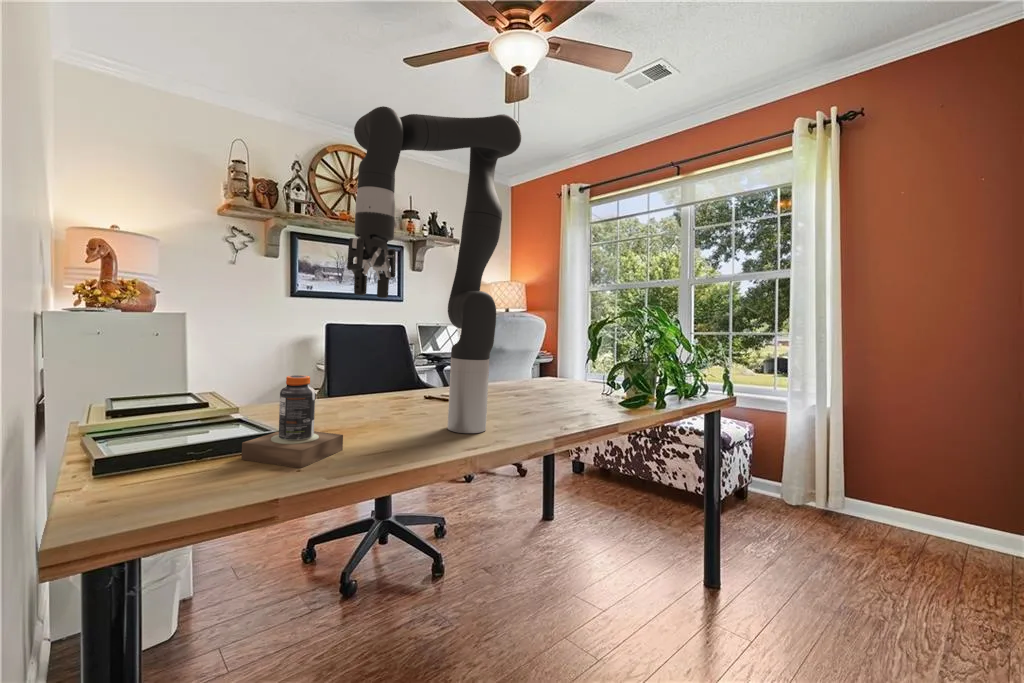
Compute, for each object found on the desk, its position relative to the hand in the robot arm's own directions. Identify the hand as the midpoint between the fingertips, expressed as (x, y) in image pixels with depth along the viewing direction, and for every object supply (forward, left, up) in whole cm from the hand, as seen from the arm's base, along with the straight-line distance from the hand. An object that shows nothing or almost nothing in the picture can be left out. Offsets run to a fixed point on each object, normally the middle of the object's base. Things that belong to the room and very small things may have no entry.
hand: (371, 296), depth 94 cm
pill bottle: (+11, -8, -27) cm, 30 cm away
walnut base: (+11, -8, -30) cm, 33 cm away
